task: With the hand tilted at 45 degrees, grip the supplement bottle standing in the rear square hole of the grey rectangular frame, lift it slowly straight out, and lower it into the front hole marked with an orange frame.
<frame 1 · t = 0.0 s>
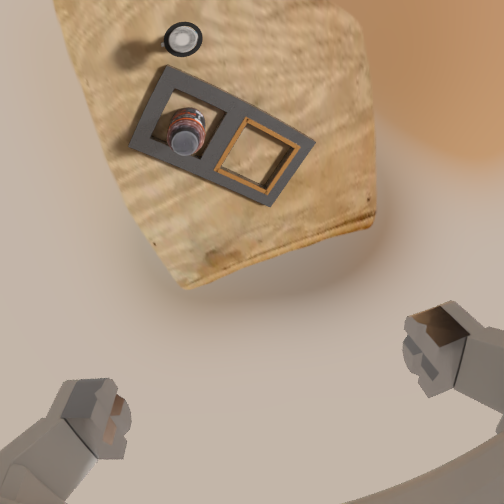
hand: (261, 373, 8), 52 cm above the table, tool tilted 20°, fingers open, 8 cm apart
supplement bottle: (188, 122, 53), resting in grey rectangular frame
grey rectangular frame: (222, 138, 56), on the table
push button: (182, 39, 43), on the table
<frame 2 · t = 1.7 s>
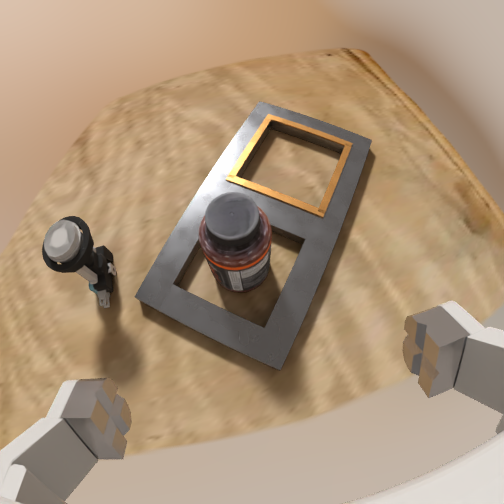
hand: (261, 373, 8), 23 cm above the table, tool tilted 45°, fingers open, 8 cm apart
supplement bottle: (240, 267, 34), resting in grey rectangular frame
grey rectangular frame: (268, 212, 36), on the table
push button: (106, 281, 34), on the table
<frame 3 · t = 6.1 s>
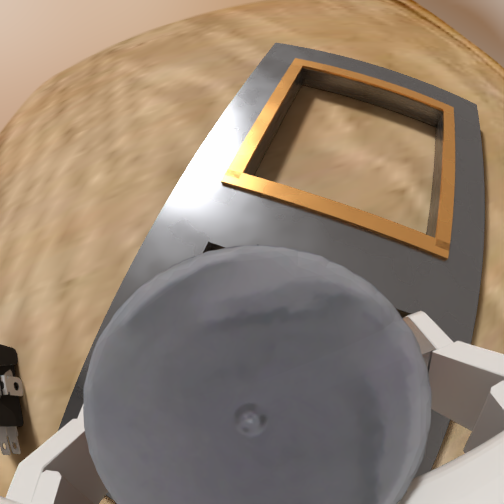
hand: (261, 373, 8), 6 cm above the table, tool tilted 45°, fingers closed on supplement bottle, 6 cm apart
supplement bottle: (271, 391, 13), resting in grey rectangular frame, touching gripper
grey rectangular frame: (324, 252, 16), on the table
push button: (12, 399, 14), on the table
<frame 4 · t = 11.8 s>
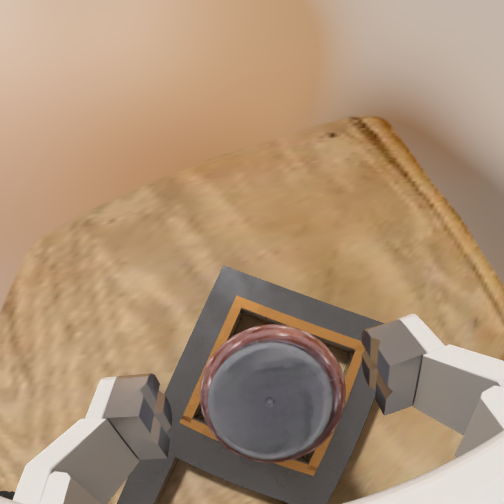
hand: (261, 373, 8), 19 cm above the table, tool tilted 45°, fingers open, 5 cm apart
supplement bottle: (276, 385, 20), point 6 cm above the table
grey rectangular frame: (242, 459, 23), on the table
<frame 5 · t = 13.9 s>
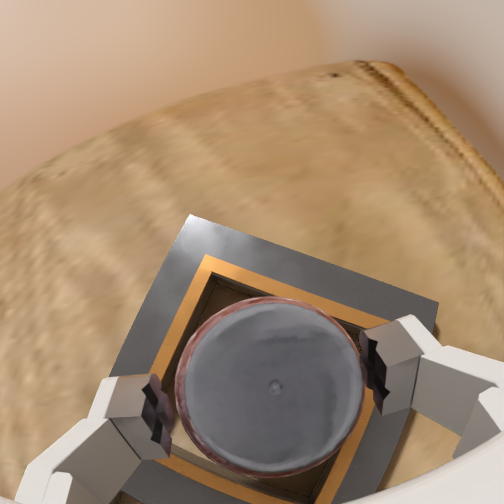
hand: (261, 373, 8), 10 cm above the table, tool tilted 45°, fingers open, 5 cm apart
supplement bottle: (266, 389, 17), resting in grey rectangular frame, touching gripper
grey rectangular frame: (213, 495, 14), on the table
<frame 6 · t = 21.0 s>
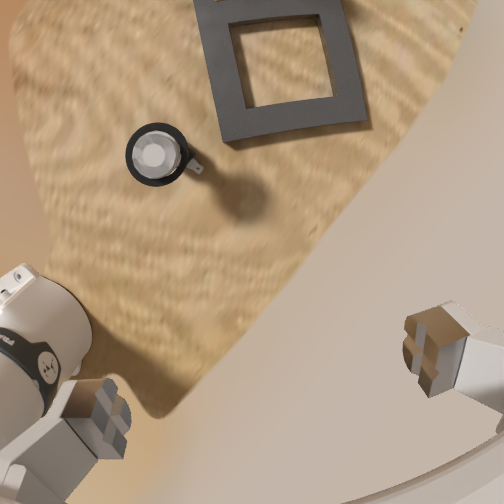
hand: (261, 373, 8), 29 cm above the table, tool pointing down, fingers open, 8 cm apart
grey rectangular frame: (268, 6, 28), on the table
push button: (178, 152, 33), on the table
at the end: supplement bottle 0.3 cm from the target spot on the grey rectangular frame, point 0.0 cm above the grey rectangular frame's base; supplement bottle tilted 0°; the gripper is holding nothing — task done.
